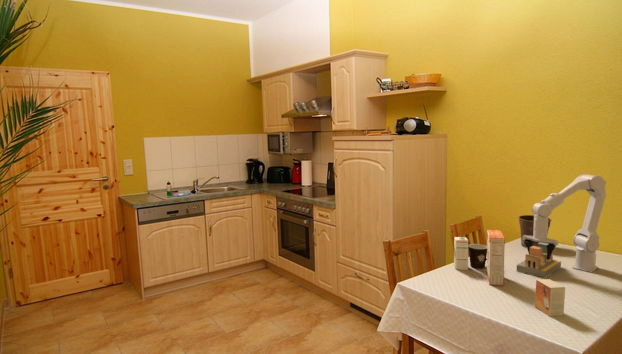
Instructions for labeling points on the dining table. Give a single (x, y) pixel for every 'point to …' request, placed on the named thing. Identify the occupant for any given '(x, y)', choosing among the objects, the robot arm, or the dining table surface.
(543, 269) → the dock
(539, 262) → the tan piece
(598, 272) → the dining table surface
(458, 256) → the syrup box
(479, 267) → the coffee mug
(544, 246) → the green cube
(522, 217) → the plant pot
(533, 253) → the brick block
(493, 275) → the cracker box
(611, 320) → the dining table surface
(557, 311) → the small box
